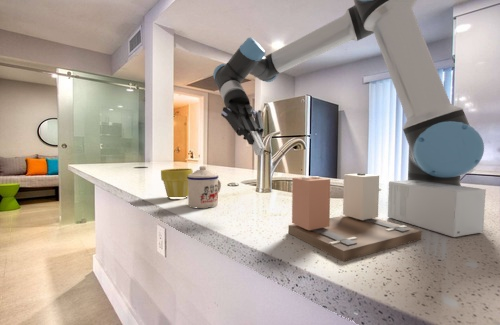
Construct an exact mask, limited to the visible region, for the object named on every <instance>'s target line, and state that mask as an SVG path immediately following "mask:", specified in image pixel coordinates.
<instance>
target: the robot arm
mask: <svg viewBox="0 0 500 325" xmlns="http://www.w3.org/2000/svg"><path fill="white" fill-rule="evenodd" d="M353 2H354V5H353V6H351V7H349V8H347V9H346V10H345V13H344V15H341V16H339V17H337V18H336V19H334V20H332V21H329V22H328V23H326V24H325V25H322V26H321V27H319V28H316V29H315V30H313V31H311V32H309V33H307V34H306V35H304V36H302V37H300V38H298V39H295V40H294V41H292V42H290V43H287V45H284V46H282V47H281V48H279V49H277V50H275V51H273V52H271V53H269V54H266V51H265V49H264V48H263V47H262V45H261V44H260V43H259V42H257V40H256V39H255V38H253V37H248V38H246V40H245V41H244V42H243V43H242V44H240V45H239V47H238V49H237V50H236V51H235V53H234V54H233V55H232V57H230V59H229V60H228V61H227V62H226V63H221V64H219V65H217V66H216V67H215V68H214V71H213V79H214V84H215V86H216V87H217V89H218V91H219V94H220V96H221V99H222V101H223V103H224V107H222V111H221V117H223V118H224V119H225V120H226V121H227V123H228V124H229V125H230V126H231V128H232V130H233V131H234V132H235V133H236V135H237V136H239V137H241V136H243V138H242V139H243V140H245V141H247V143H248V145H251V147H252V150H253V152H254V154H255V156H262V155H263V154H264V151H265V149H266V146H265V144H264V143H263V142H264V138H263V137H262V136H263V134H264V132H265V127H264V122H263V118H262V113H263V111H262V110H261V109H259V110H255V109H254V107H253V106H252V105H251V103H250V102H251V101H250V99H249V97H248V95H247V93H246V91H245V89H244V87H243V85H242V84H241V83H242V82H243V81H244V80H245V79H246V78H247V77H248V76H249V75H251V76H253V77H255V78H257V79H258V80H260V81H263V82H265V83H271V82H273V81H275V80H276V79H277V77H278V75H279V74H281V73H283V72H286V71H287V70H289V69H292V68H294V67H297V66H298V65H301V64H302V63H304V62H306V61H309V60H311V59H313V58H316V57H318V56H320V55H322V54H324V53H326V52H329V51H330V50H333V49H335V48H337V47H339V46H341V45H344V44H345V43H349V42H350V41H354V42H358V41H360V40H362V39H364V38H365V39H366V38H367V37H368V36H371V35H374V37H375V39H376V42H377V44H378V47H379V50H380V52H381V55H382V58H383V60H384V63H385V65H386V69H387V71H388V74H389V76H390V79H391V81H392V84H393V86H394V89H395V92H396V94H397V96H398V99H399V102H400V105H401V107H402V109H403V112H404V114H405V117H406V121H405V123H404V125H403V127H402V131H403V133H404V136H405V138H406V141H407V145H408V165H407V166H408V167H407V168H408V170H407V171H408V172H407V180H418V181H426V182H434V183H441V184H449V185H457V186H462V185H461V176H462V175H465V174H467V173H469V172H471V171H472V170H474V169H475V168H476V167H477V166H478V165H479V163H480V162H481V160H482V158H483V156H484V152H485V144H484V143H485V142H484V140H483V138H482V136H481V134H480V133H479V132H478V130H476V129H475V128H474V127H473V126H470V123H469V121H468V118H467V116H466V114H465V111H464V109H463V107H461V106H460V107H459V106H458V105H454V104H453V103H451V101H450V98H449V96H448V94H447V91H446V89H445V86H444V84H443V82H442V79H441V76H440V74H439V71H438V69H437V67H436V64H435V62H434V60H433V57H432V55H431V52H430V49H429V47H428V45H427V41H426V39H425V38H424V35H423V32H422V30H421V28H420V24H419V22H418V20H417V18H416V15H415V13H414V10H413V9H414V8H413V7H414V6H415V4H416V2H417V0H353Z"/></svg>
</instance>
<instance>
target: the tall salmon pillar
mask: <svg viewBox="0 0 500 325" xmlns="http://www.w3.org/2000/svg"><path fill="white" fill-rule="evenodd" d="M291 185H292V188H291V189H292V191H291V194H292V196H291V197H292V200H291V207H292V208H291V223H292V224H295V225H298V226H300V227H302V228H304V229H307V230H314V229H319V228H324V227H329V223H330V218H331V217H330V215H331V213H330V212H331V211H330V210H331V208H330V206H331V179H330V178H323V177H321V176H316V175H314V176H301V177H292V184H291Z"/></svg>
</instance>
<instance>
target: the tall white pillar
mask: <svg viewBox="0 0 500 325" xmlns="http://www.w3.org/2000/svg"><path fill="white" fill-rule="evenodd" d="M379 196H380V175H378V174H368V173H367V174H366V173H362V172H360V173H347V174H343V197H342V198H343V199H342V200H343V201H342V206H343V208H342V216H345V215H346V216H350V217H353V218H356V219H360V220H366V219H371V218H379V200H380V199H379Z"/></svg>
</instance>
